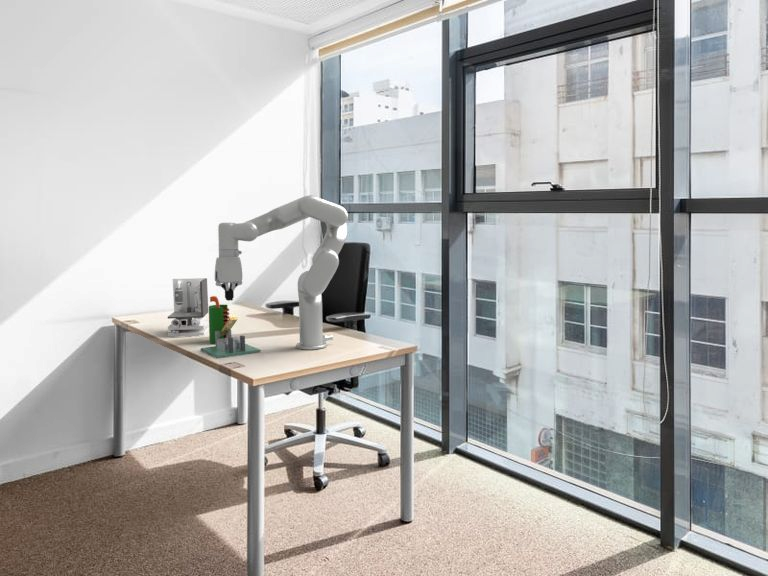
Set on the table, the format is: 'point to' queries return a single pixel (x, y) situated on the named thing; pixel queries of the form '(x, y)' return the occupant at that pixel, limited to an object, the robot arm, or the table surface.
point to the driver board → (231, 349)
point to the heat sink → (226, 342)
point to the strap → (228, 325)
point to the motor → (217, 318)
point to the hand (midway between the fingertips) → (229, 300)
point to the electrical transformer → (189, 307)
